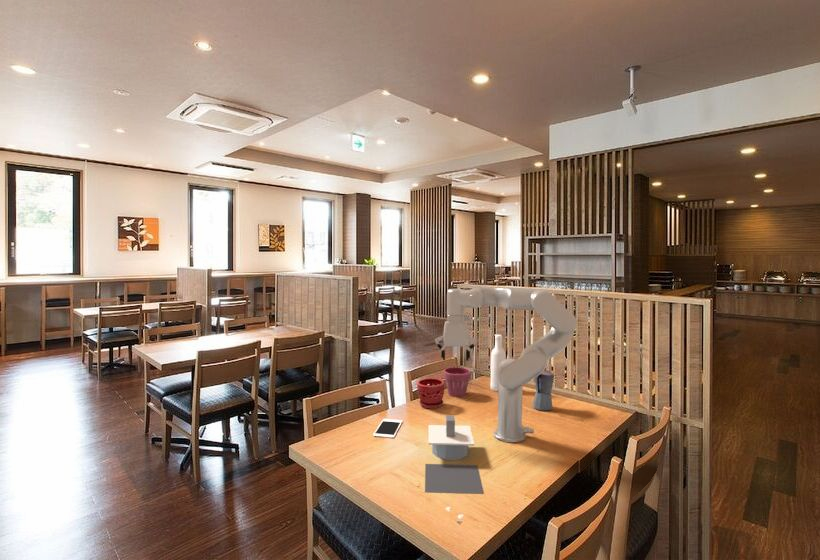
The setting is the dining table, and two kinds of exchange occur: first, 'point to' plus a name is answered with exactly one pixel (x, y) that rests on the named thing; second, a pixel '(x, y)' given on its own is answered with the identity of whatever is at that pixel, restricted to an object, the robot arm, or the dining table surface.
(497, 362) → the bottle
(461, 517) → the acanthus leaf ornament
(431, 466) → the mat
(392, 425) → the cell phone
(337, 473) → the dining table surface
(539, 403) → the moka pot
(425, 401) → the plant pot
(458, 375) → the plant pot
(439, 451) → the bowl
